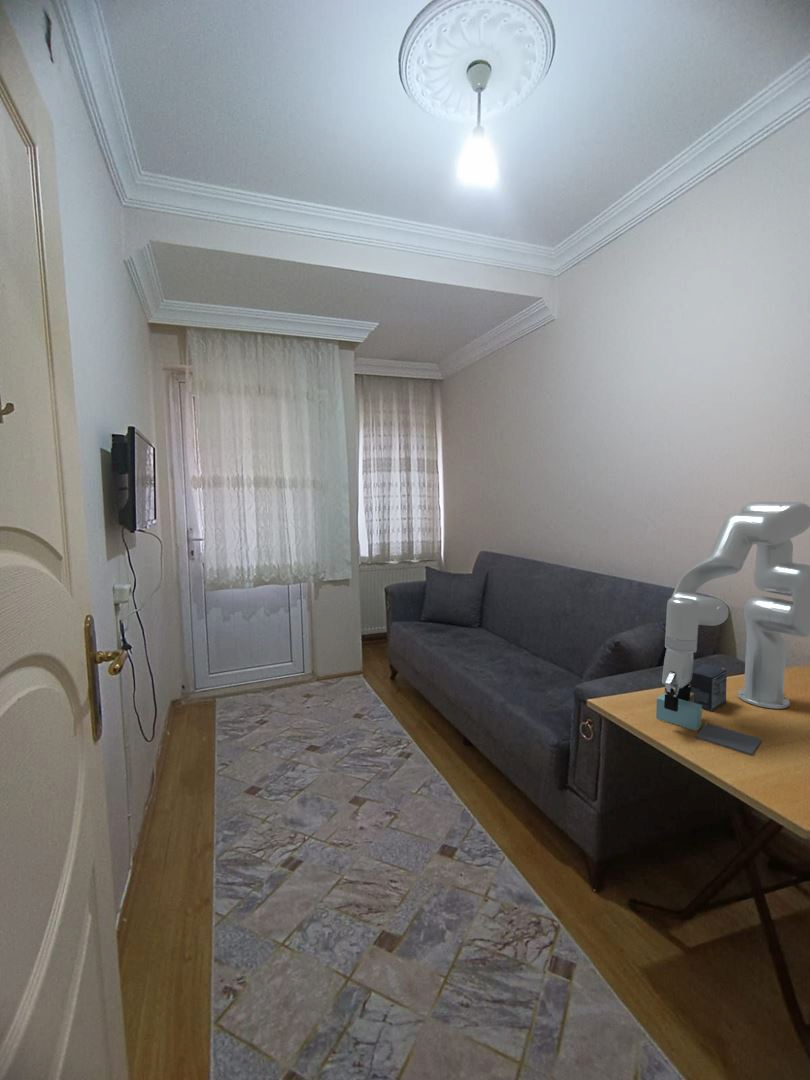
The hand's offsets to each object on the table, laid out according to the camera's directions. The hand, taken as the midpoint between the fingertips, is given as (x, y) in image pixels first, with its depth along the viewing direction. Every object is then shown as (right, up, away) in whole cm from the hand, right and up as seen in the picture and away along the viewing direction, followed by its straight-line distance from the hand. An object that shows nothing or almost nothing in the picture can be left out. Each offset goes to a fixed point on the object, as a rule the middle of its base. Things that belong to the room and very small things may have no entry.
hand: (677, 704), depth 131 cm
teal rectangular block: (+1, -5, +1) cm, 5 cm away
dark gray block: (+8, -6, -9) cm, 13 cm away
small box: (+16, -4, +12) cm, 20 cm away
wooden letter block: (+6, -4, +8) cm, 11 cm away
